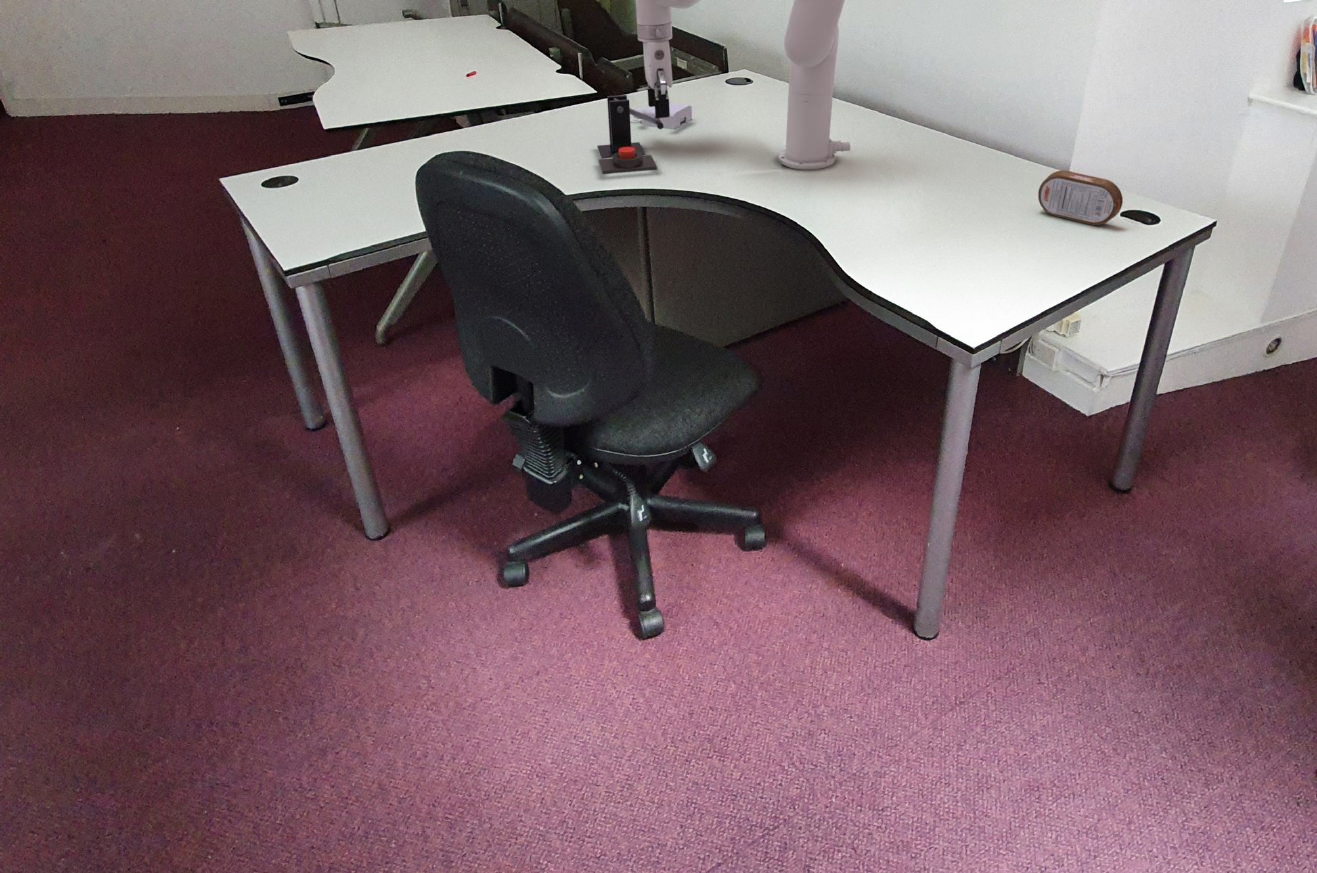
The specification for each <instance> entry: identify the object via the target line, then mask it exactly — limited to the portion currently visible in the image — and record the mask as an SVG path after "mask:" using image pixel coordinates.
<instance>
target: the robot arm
mask: <svg viewBox="0 0 1317 873" xmlns="http://www.w3.org/2000/svg"><path fill="white" fill-rule="evenodd" d="M700 1H701V0H635V13H636V28H637V30H636V32H637V40H638V41H639V42H642V47H643V48H642V49H643V65H644V66H643V67H644V75H645V80H646V82H647V102H648V105H647V106H648V107H655V117H656V118H666V117H669V116H670V109H669V103H670V98H669V90H668V87H669V89H670V88H672V87H673V86H674V82H673V71H672V70H673V68H672V58H671V47H670V41H669V40H671V39H673V27H672V25H673V22H672V21H673V20H672V8H674V9H679V10H680V9H681V10H685V9H686V10H687V9H690V8H692V7H694V6H695V5H697V4H698V3H699V2H700ZM845 1H846V0H793V4H792V8H791V10H790V14H789V19H788V23H787V27H786V31H785V35H784V42H783V45H784V46H783V47H784V51H785V54H786V56H787V57H788V59H789V61H790V64H789V77H788V93H787V114H786V132H785V133H786V135H785V136H786V137H785V149H784V150H782V151H780V153H778V156H777V158H778V160H777V162H778V163H779V164H781V165H783V166H785V167H788V168H791V169H795V170H796V169H798V170H818V169H824V168H828V167H830V166H832V165H833V164H835V162H836V155H835V154H836V153H837V152H849V151H851V142H849V141H845V142H842V141H841V140H833V139H831V138H830V136H831V125H832V124H831V122H832V108H833V95H834V86H835V73H836V62H837V55H838V46H839V35H840V34H839V25H838V24H839V21H840V17H841V14H842V11H843V8H844V5H845Z"/></svg>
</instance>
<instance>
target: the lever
mask: <svg viewBox="0 0 1317 873" xmlns="http://www.w3.org/2000/svg"><path fill="white" fill-rule="evenodd" d="M615 100H618V99H616V98H614V100H613V101H615ZM633 115H634V116H636V117H639V118H641V119H640V120H642V119H644V120H646V121H648V122H651V123H653V124H656V126H657V127H656V128H657V129H658V130H663V129H664V128H663V126H664V125H663V123H662V122H661V120H660V118H656V117H654V118H653V117H650V116H648V115H645V114H643V113H641V112H638V111H636V109H633V108H630V116H633Z"/></svg>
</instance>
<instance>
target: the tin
mask: <svg viewBox="0 0 1317 873" xmlns="http://www.w3.org/2000/svg"><path fill="white" fill-rule="evenodd" d="M1037 196H1038V197H1037V198H1038V202H1039V205H1040V207H1041V208H1042V210H1044V212H1046V213H1047V214H1049V215H1050V216H1054V217H1058V218H1062V219H1066V220H1071V221H1073V222H1078V223H1083V224H1086V225H1090V226H1101V225H1104V224H1107V223H1108V222H1109V221H1111V220H1112V219H1114V218H1115V217H1116V216H1117V215H1118V214H1119V213H1120V211H1121V210H1122V207H1123V202H1124V201H1123V200H1124V199H1123V194H1122V191H1121V189H1120V187H1119V186H1118V185H1117V184H1115V183H1114V182H1113V181H1111V180H1110V179H1107V178H1102V177H1099V176H1098V177H1097V176H1093V175H1088V174H1085V173H1079V172H1075V171H1070V170H1062V169H1061V170H1057V171H1054V172H1052V173H1051V174H1049V175H1048V176H1047V177H1046V178H1045V179H1044V180H1043V181H1042V182H1041V184H1040V185H1039V188H1038V193H1037Z"/></svg>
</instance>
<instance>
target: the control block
mask: <svg viewBox="0 0 1317 873" xmlns="http://www.w3.org/2000/svg"><path fill="white" fill-rule="evenodd" d="M598 165H599V167H600V170H601V173H602V175H610V174H620V173H621V174H622V173H632V172H633V173H634V172H643V171H656V170H658V166H657V164H656V162H655V159H654V157H653V155H652V154H645V155H642V154H641V153H640V152H637V151H635V157H634V158H628V159H624V158H619V152H617V153H615V154H613V155H612V158H600V159H598Z"/></svg>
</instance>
